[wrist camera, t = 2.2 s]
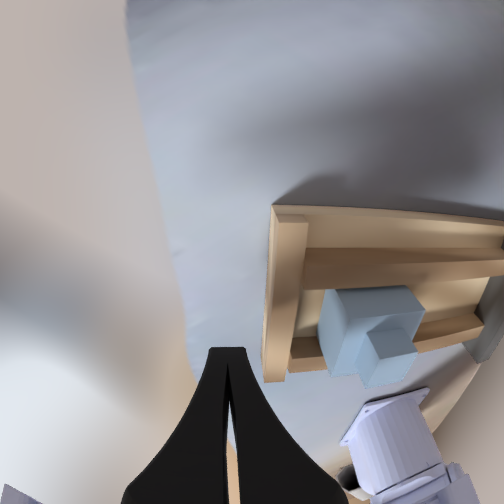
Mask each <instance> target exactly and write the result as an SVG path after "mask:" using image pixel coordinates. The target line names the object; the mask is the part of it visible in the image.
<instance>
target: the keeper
mask: <svg viewBox="0 0 504 504" xmlns="http://www.w3.org/2000/svg"><path fill="white" fill-rule="evenodd" d="M425 311H426V310H425V308H424V307H423V306H422V304H421V303H420V302H419V301H418V300H417V298H416V297H415V296H414V295H413V293H412V292H411V291H410V290H409V288H408V287H407V286H406V285H396V286H381V287H364V288H346V289H325V294H324V299H323V304H322V308H321V313H320V317H319V322H318V326H317V330H316V336H317V339H318V341H319V344H320V347H321V350H322V353H323V356H324V359H325V362H326V365H327V368H328V371H329V374H330V377H337V376H344V375H351V374H357V373H359V375H360V378H361V380H362V383H363V385H364V388H365V389H367V388H372V387H377V386H382V385H386V384H391V383H395V382H399V381H402V380H403V378H404V376H405V375H406V373H407V371H408V370H409V368H410V366H411V364H412V363H413V361H414V359H415V357H416V355H417V354H418V350H417V349H416V347H415V345H414V344H413V342H412V340H413V337H414V335H415V333H416V331H417V329H418V327H419V325H420V323H421V320H422V318H423V316H424V314H425Z"/></svg>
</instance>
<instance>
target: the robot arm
mask: <svg viewBox="0 0 504 504" xmlns="http://www.w3.org/2000/svg"><path fill="white" fill-rule="evenodd" d="M429 391H430V390H429V388H428V387H427V388H423V389H420V390H417V391H413V392H410V393H406V394H403V395H399V396H395V397H391V398H387V399H383V400H379V401H374V402H370V403H367V404H365V405H364V406H363V408H362V409H361V411H360V413H359V414H358V416H357V417H356V419H355V421H354V422H353V424H352V425H351V427H350V428H349V430H348V431H347V433H346V434H345V436H344V437H343V439H342V440H341V442H340V443H339V444H340V446H346V445H348V447H349V451H350V454H351V458H352V461H353V465H354V468H355V472H356V475H357V479H358V482H359V485H360V486H361V488H362V489H363V490H364V491H365V492H367V493H368V494H371V495H374V496H373V497H371V498H370V502H371V503H370V504H480V502H479V499H478V497H477V494H476V491H475V489H474V487H473V484H472V481H471V479H470V476H469V474H464V472H463V470H462V468H461V466H460V464H457V463H454V462H452V463H450V464H449V465H447V464H446V463H444V461H443V459H442V456H441V454H440V452H439V450H438V447H437V445H436V443H435V441H434V438H433V436H432V434H431V432H430V430H429V427H428V425H427V423H426V421H425V419H424V417H423V415H422V413H421V411H420V409H419V405H420V403H421V402H422V401H423V399H424V398H425V397H426V395H427V394H428V393H429ZM229 401H230V408H231V415H232V422H233V429H234V435H235V442H236V449H237V461H238V476H239V490H240V491H239V492H240V504H349V503H348V499H347V497H346V494H345V492H344V491H343V489H342V487H341V486H340V484H339V483H338V482H337V481H336V480H335V479H333V478H332V477H331V476H330V475H328V474H327V473H326V472H325V471H324V470H323V469H322V468H321V467H319V466H318V465H317V464H316V463H315V462H314V461H313V460H312V459H311V458H310V457H309V456H308V455H307V454H306V453H305V451H304V450H303V449H302V448H301V447H300V446H299V445H298V444H297V443H296V441H295V440H294V439H293V438H292V437H291V435H290V434H289V433H288V432H287V430H286V429H285V428H284V426H283V425H282V423H281V422H280V421H279V419H278V418H277V416H276V415H275V413H274V412H273V410H272V408H271V407H270V405H269V403H268V402H267V400H266V398H265V396H264V394H263V392H262V390H261V388H260V386H259V384H258V382H257V380H256V378H255V376H254V373H253V371H252V368H251V366H250V363H249V360H248V357H247V353H246V349H245V348H244V347H211V348H210V349H209V353H208V357H207V361H206V365H205V368H204V371H203V373H202V376H201V379H200V381H199V384H198V386H197V389H196V391H195V393H194V395H193V397H192V399H191V401H190V403H189V405H188V407H187V409H186V411H185V413H184V415H183V417H182V418H181V420H180V422H179V424H178V425H177V427H176V428H175V430H174V432H173V433H172V434H171V436H170V437H169V439H168V440H167V442H166V443H165V445H164V446H163V447H162V449H161V450H160V451H159V452H158V454H157V455H156V456H155V458H153V460H152V461H151V462H150V463H149V464H148V466H147V467H146V468H145V469H144V470H143V471H142V472H141V473H140V474H139V475H138V476H137V477H136V478H135V479H134V480H133V481H132V482H131V483H130V484H129V485H128V486H127V488H126V490H125V492H124V495H123V498H122V501H121V504H229V495H228V477H227V458H226V444H227V429H228V413H229ZM0 504H42V503H40V502H38V501H36V500H35V499H33V498H32V497H29V496H28V495H26V494H24V493H22V492H20V491H18V490H16V489H15V488H13V487H11V486H9V485H7V484H5V485H4V489H3V493H2V497H1V503H0Z"/></svg>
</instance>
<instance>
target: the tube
mask: <svg viewBox="0 0 504 504" xmlns="http://www.w3.org/2000/svg"><path fill="white" fill-rule="evenodd" d="M336 480H337V482H338V483H339V484H340V486H341V487H342V489H343V490H344V491H346V492H347V493H350V494H352V495H353V496H355V497H356V498H358V499H360V500H362V501H364V500H366V499H369V498H371V497H372V496H373V495H371V494H368V493H367V492H365V491H364V490H363V489H362V488H361V486H360V485H359V483H358V482H357V481H358V479H357V475H356V472H355V468H354V465H353V464H352V465H349V466H346V467H343V468H342V469H341V470H340V471H339V472H338V474H337V475H336Z"/></svg>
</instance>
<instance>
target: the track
mask: <svg viewBox="0 0 504 504" xmlns="http://www.w3.org/2000/svg"><path fill="white" fill-rule="evenodd" d="M396 285H406V286H407V287H408V288H409V290H410V291H411V292H412V293H413V295H414V296H415V297H416V298H417V300H418V301H419V302H420V303H421V304H422V306H423V307H424V308H425V310H426V311H425V314H424V316H423V318H422V320H421V323H420V325H419V327H418V329H417V331H416V333H415V335H414V337H413V340H412V342H413V344H414V345H415V347H416V349H417V350H418V354H419V353H423V352H427V351H431V350H435V349H439V348H443V347H447V346H450V345H454V344H458V343H461V342H462V343H463V345H464V346H465V347H466V349H467V350H468V352H469V353H470V354H471V356H472V357H473V359H474V360H475V361H476V363H477V364H478V363H481V362H483V361H485V360H488V359H489V358H490V356H491V354H492V353H493V351H494V350H495V348H496V347H497V345H498V343H499V342H500V340H501V338H502V337H503V335H504V221H500V220H492V219H484V218H476V217H467V216H457V215H448V214H437V213H426V212H414V211H401V210H387V209H372V208H354V207H333V206H305V205H271V219H270V235H269V251H268V266H267V281H266V295H265V308H264V322H263V335H262V347H261V362H262V369H263V377H264V383H268V382H283V381H284V380H285V375H286V370H287V369H288V370H289V373H296V372H307V371H317V370H326V369H328V368H327V365H326V362H325V359H324V356H323V353H322V350H321V347H320V344H319V341H318V339H317V336H316V330H317V326H318V322H319V317H320V313H321V308H322V304H323V299H324V294H325V289H346V288H364V287H381V286H396Z"/></svg>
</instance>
